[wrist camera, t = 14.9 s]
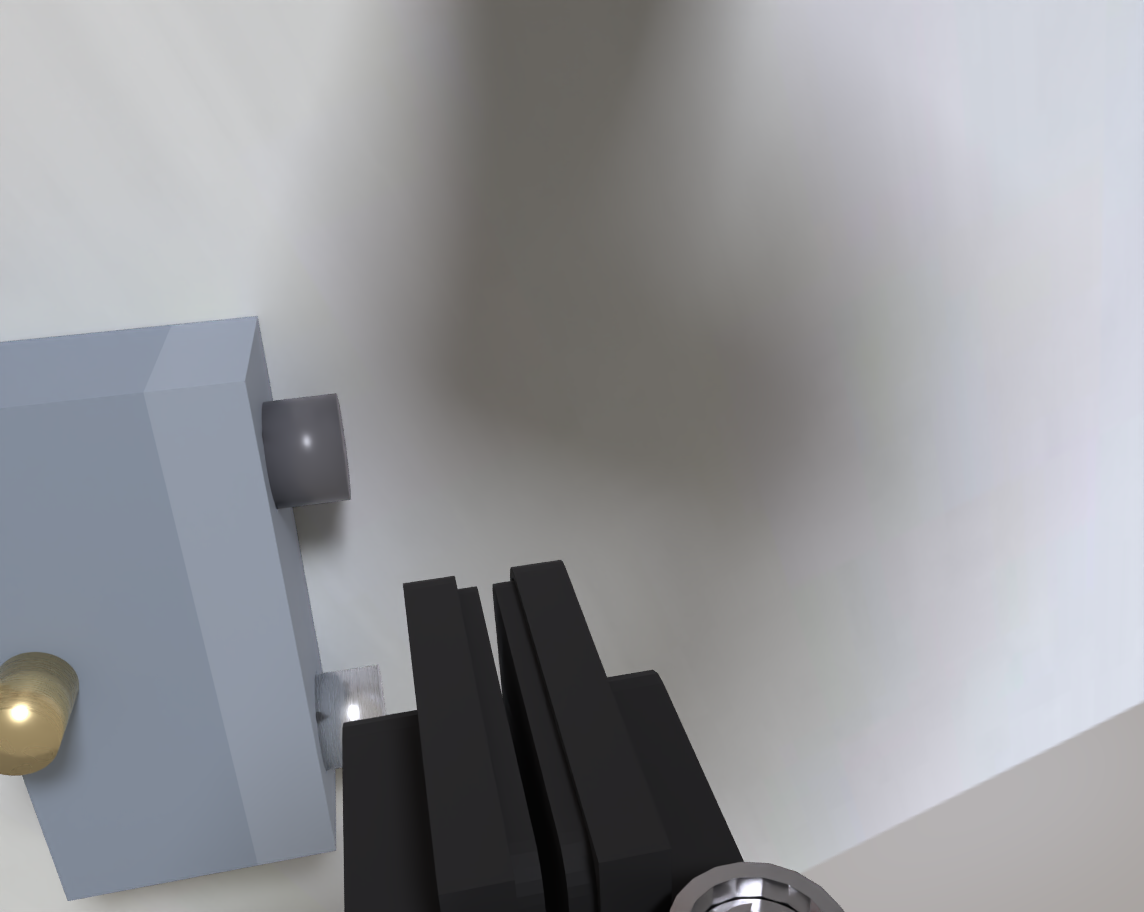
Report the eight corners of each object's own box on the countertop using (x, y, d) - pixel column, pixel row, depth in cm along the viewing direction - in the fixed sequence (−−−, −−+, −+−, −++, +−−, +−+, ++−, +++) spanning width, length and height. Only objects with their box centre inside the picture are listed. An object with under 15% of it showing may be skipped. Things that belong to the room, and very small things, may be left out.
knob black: (335, 377, 38) (336, 419, 34) (349, 470, 39) (351, 518, 36) (58, 408, 36) (31, 455, 33) (85, 504, 38) (62, 557, 34)
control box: (257, 316, 38) (245, 380, 32) (335, 740, 47) (336, 850, 41) (-38, 346, 36) (-107, 420, 30) (100, 780, 45) (67, 900, 39)
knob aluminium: (376, 645, 43) (380, 704, 40) (387, 717, 45) (392, 779, 41) (136, 683, 41) (119, 747, 38) (157, 756, 43) (143, 823, 40)
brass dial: (27, 638, 34) (2, 696, 32) (95, 678, 35) (77, 736, 33) (-22, 689, 35) (-51, 749, 32) (47, 726, 36) (24, 788, 33)
